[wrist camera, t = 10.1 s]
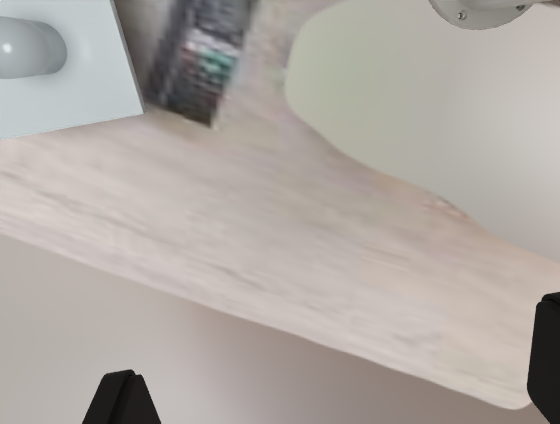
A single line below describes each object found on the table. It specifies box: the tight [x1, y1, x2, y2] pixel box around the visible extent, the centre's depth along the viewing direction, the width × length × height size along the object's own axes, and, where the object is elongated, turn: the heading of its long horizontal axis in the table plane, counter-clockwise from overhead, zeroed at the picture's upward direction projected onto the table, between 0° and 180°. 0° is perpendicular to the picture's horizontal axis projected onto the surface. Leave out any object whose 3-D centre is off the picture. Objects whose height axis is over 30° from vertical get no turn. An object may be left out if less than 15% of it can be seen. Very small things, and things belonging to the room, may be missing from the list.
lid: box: [0, 0, 147, 140], centre depth 25 cm, size 11×11×6 cm
